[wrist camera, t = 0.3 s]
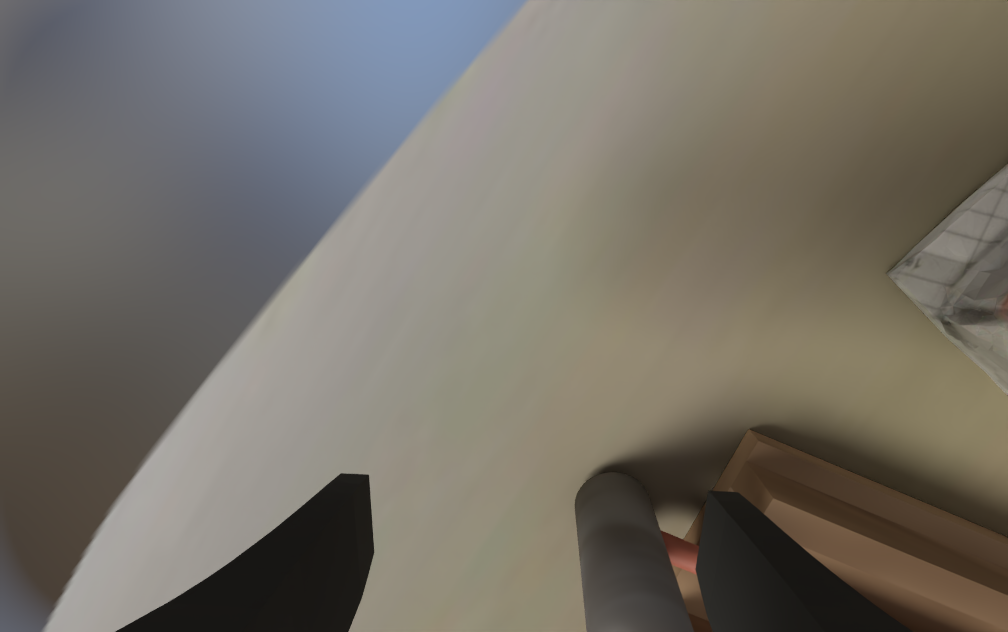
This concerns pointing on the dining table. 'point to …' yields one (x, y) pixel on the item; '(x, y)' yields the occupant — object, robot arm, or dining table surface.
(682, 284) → the dining table surface
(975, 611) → the lane tray
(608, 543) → the grey and red rod
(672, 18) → the dining table surface
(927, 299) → the packaged product
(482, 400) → the dining table surface
